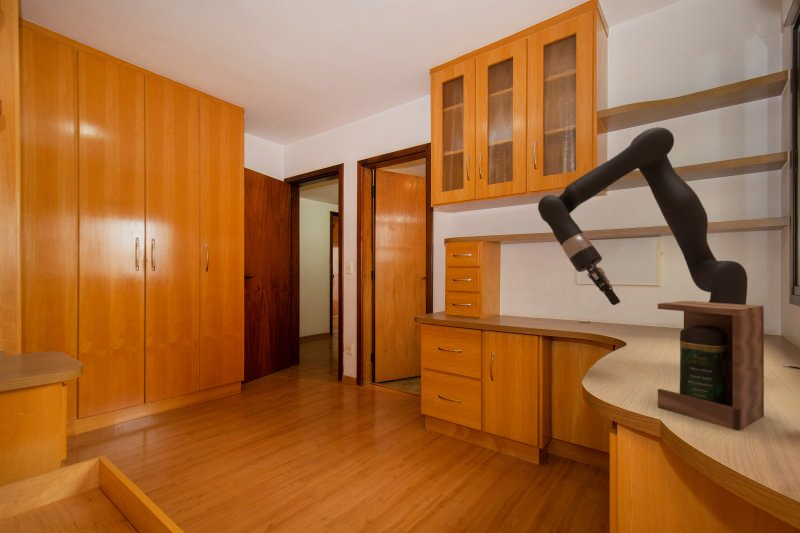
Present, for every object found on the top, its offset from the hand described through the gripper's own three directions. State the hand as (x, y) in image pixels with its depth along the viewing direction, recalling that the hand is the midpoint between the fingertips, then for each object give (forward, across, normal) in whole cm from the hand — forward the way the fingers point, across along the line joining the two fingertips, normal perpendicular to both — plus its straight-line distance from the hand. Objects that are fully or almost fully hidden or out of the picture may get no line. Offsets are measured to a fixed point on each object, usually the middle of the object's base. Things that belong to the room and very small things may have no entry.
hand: (616, 303), depth 102 cm
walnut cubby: (+29, -10, -4) cm, 31 cm away
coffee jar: (+29, -10, -3) cm, 31 cm away
